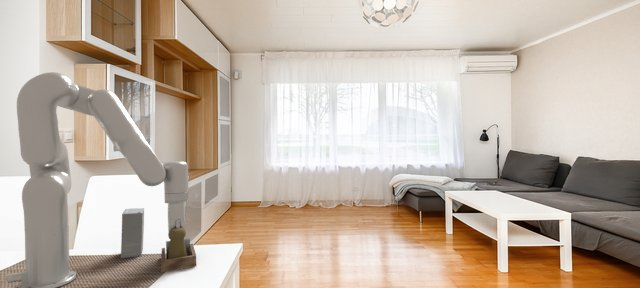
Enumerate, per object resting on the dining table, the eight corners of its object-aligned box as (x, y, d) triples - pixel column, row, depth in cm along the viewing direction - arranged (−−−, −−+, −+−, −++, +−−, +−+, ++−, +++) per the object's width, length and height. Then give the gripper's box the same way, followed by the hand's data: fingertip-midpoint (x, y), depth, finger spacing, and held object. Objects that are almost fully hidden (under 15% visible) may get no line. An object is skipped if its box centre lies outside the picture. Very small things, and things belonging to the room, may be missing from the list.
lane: (161, 272, 97) (161, 261, 97) (161, 257, 110) (161, 248, 110) (196, 266, 102) (196, 255, 102) (192, 252, 114) (192, 243, 114)
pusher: (166, 260, 104) (166, 242, 104) (166, 259, 105) (166, 241, 105) (190, 256, 107) (189, 239, 107) (189, 255, 108) (189, 238, 108)
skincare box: (123, 252, 117) (122, 208, 117) (145, 249, 120) (144, 206, 120) (120, 259, 109) (119, 213, 109) (143, 256, 112) (142, 211, 112)
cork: (182, 265, 100) (182, 230, 100) (163, 266, 100) (163, 231, 100) (190, 258, 106) (190, 225, 106) (172, 259, 106) (172, 226, 106)
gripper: (164, 195, 114) (165, 246, 114) (165, 201, 101) (166, 259, 101) (186, 193, 118) (187, 243, 118) (190, 199, 104) (191, 255, 104)
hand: (177, 250), depth 109 cm, fingers closed
